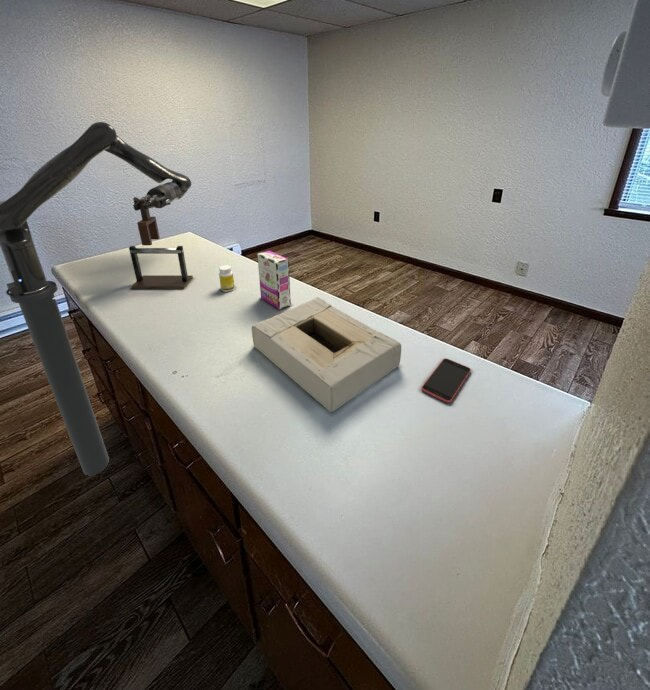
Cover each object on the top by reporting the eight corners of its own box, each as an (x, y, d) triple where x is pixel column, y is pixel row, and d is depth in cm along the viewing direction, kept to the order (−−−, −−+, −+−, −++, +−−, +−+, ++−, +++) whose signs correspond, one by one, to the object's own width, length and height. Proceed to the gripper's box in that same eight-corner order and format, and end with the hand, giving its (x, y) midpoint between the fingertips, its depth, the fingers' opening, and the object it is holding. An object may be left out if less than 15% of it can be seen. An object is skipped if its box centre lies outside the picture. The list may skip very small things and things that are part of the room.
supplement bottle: (236, 289, 128) (234, 268, 125) (223, 293, 126) (221, 271, 122) (231, 284, 132) (229, 263, 129) (219, 288, 129) (216, 266, 126)
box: (401, 366, 90) (317, 315, 112) (403, 340, 87) (316, 293, 108) (333, 417, 75) (252, 347, 97) (333, 388, 72) (249, 323, 94)
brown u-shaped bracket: (150, 245, 124) (141, 202, 118) (142, 245, 124) (132, 202, 118) (159, 238, 131) (151, 197, 125) (151, 238, 131) (143, 197, 125)
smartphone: (472, 368, 87) (450, 402, 77) (471, 370, 88) (450, 404, 78) (444, 357, 91) (420, 388, 81) (444, 358, 92) (419, 390, 82)
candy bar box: (291, 305, 118) (289, 258, 111) (279, 310, 115) (276, 263, 108) (272, 293, 125) (269, 249, 119) (260, 298, 122) (256, 253, 116)
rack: (184, 289, 129) (177, 251, 123) (131, 289, 129) (122, 251, 124) (193, 278, 137) (187, 242, 131) (143, 278, 137) (135, 242, 132)
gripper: (141, 185, 134) (115, 196, 118) (178, 185, 134) (157, 196, 118) (145, 205, 137) (121, 218, 121) (181, 205, 137) (161, 218, 121)
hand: (139, 207), depth 119 cm, fingers closed on brown u-shaped bracket, 2 cm apart
